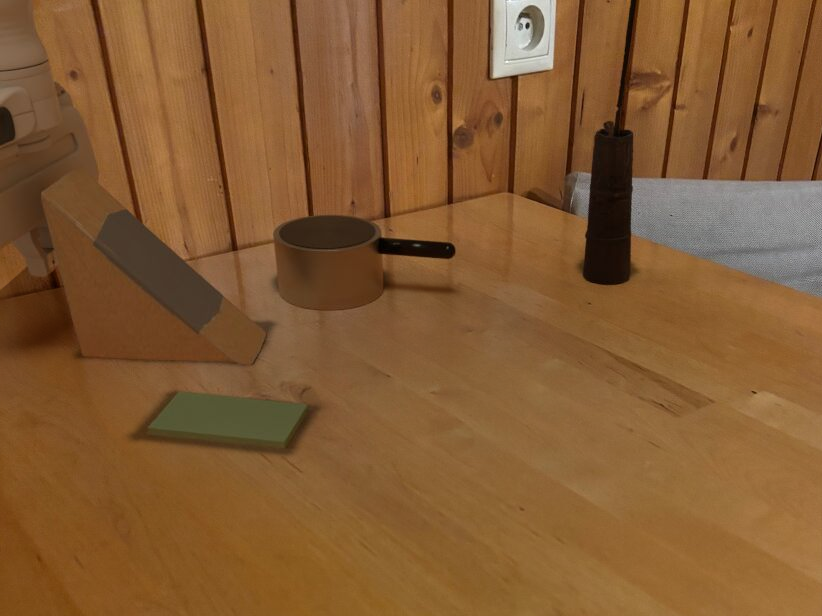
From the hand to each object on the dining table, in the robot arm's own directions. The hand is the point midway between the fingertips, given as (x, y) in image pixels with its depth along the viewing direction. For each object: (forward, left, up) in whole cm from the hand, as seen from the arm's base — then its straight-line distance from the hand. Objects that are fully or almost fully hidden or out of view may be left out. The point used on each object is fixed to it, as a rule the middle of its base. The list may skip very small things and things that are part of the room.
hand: (47, 271), depth 85 cm
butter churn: (+49, +28, -7) cm, 57 cm away
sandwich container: (+11, 0, -7) cm, 13 cm away
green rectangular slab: (+21, -14, -6) cm, 27 cm away
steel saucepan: (+25, +17, -6) cm, 31 cm away
